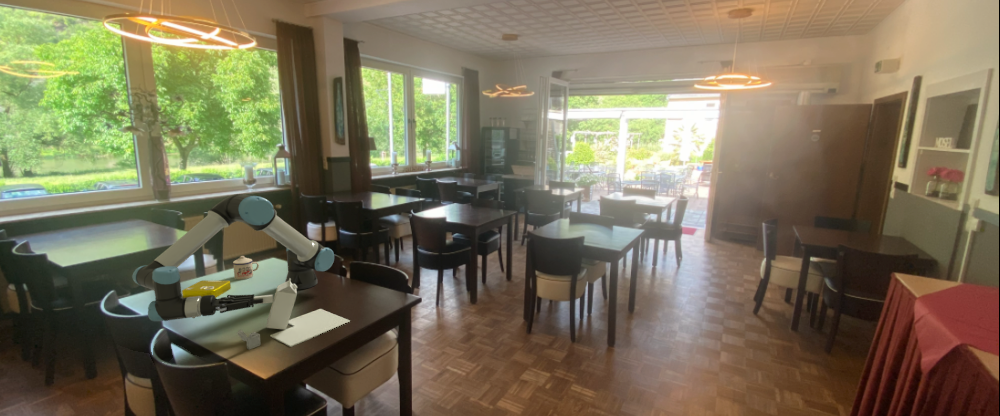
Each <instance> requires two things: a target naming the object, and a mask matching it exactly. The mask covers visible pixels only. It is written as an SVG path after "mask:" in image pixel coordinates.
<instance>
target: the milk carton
mask: <svg viewBox="0 0 1000 416" xmlns="http://www.w3.org/2000/svg"><path fill="white" fill-rule="evenodd" d="M296 288H297V286H296V285H295V284H292V283H291V281H290V279H289V281H287V282H285V281H284V282H283V283H281V284H278V285H277V287H276V290H275V293H274V295H273V300H274V301H273V302H272V303H271V307H270V310H269V313H268V317H267V319H266V328H267V329H274V330H285V329H288V325H289V324H288V322H289V320H291V315H292V312H293V309H294V305H295V303H296V299H297V295H298V292H297V290H296Z"/></svg>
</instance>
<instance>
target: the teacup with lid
mask: <svg viewBox="0 0 1000 416" xmlns="http://www.w3.org/2000/svg"><path fill="white" fill-rule="evenodd" d="M253 264H256V268H253ZM232 265H233V273H234V274H233V275H234V280H247V279H250V278H253V276H254V272H255V271H257V270H258V269H259V266H260V264H259V263H258V262H257V261H253V259H252V258H249V257H245V255H241V256H239V258H237V259H236V260H234V261H233V262H232Z"/></svg>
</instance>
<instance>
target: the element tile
mask: <svg viewBox="0 0 1000 416" xmlns="http://www.w3.org/2000/svg"><path fill="white" fill-rule="evenodd" d="M231 289H232V286H231V280H216V279H215V280H206V279H205V280H199V281H198V282H196V283H194V284H191V285H190V286H188V287H186V288H183V289H181V293H182V298H187V297H196V296H201V297H203V296H207V295H214V296H215V298H216V299H217V298H218V297H220V296H221V295H223V294H225V293H226V292H228V291H230V290H231Z"/></svg>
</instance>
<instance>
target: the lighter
mask: <svg viewBox="0 0 1000 416" xmlns="http://www.w3.org/2000/svg"><path fill="white" fill-rule="evenodd" d="M236 334H237V335H238V336H239V338H240V339H241V341H243V342H246V349H247V350H252V349H254V348H258V347H259V346H261V343H262V342H261V334H260V333H258V332H255V331H253V332H251V333H249V335H248V336H247V335H246V333H245V332H244V331H243V330H241V329H239V330H238V331H237V332H236Z"/></svg>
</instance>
